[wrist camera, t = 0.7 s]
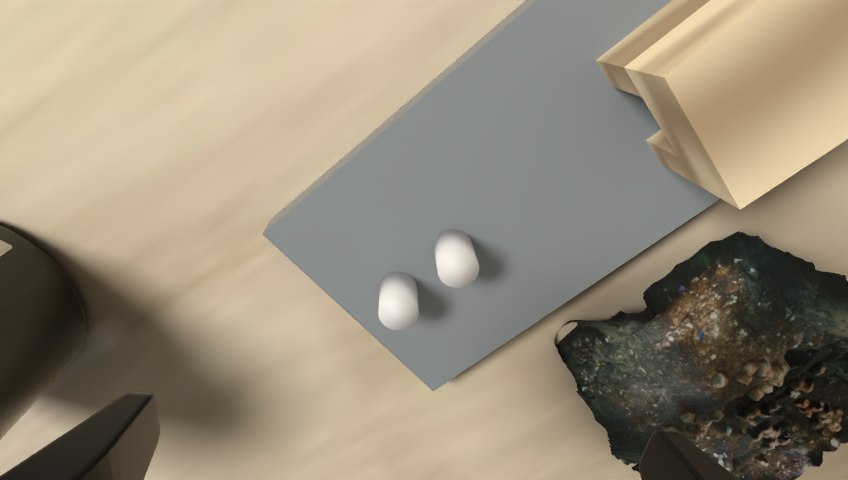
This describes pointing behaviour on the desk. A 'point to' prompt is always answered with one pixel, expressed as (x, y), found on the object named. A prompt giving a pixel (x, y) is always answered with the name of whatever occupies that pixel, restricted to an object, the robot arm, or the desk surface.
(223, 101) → the desk surface
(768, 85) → the block
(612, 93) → the pin plate
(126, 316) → the desk surface
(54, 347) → the ink bottle
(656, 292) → the decorative rock
